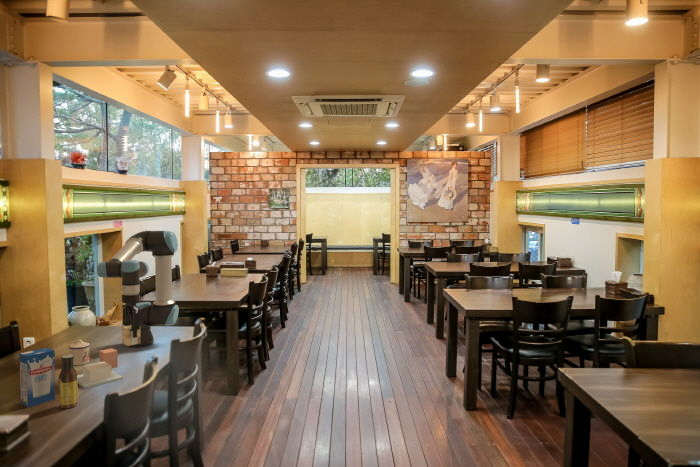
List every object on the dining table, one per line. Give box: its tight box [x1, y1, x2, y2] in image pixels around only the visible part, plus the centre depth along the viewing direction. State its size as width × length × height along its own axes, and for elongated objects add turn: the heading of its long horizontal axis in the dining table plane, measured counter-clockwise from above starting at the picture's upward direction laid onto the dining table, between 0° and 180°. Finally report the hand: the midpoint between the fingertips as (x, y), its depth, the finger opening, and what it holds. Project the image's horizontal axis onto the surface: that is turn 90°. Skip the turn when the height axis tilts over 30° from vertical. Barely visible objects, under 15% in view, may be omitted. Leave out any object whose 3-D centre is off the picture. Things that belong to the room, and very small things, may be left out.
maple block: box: [121, 325, 141, 347], centre depth 226 cm, size 6×6×8 cm
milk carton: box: [19, 347, 56, 408], centre depth 191 cm, size 10×6×20 cm, turn 148°
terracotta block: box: [99, 347, 118, 369], centre depth 234 cm, size 6×6×8 cm
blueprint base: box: [77, 361, 124, 389], centre depth 217 cm, size 16×16×6 cm
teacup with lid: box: [68, 339, 91, 367], centre depth 240 cm, size 12×9×12 cm
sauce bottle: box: [58, 354, 79, 409], centre depth 187 cm, size 7×6×20 cm
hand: (131, 342), depth 226 cm, fingers closed on maple block, 6 cm apart
